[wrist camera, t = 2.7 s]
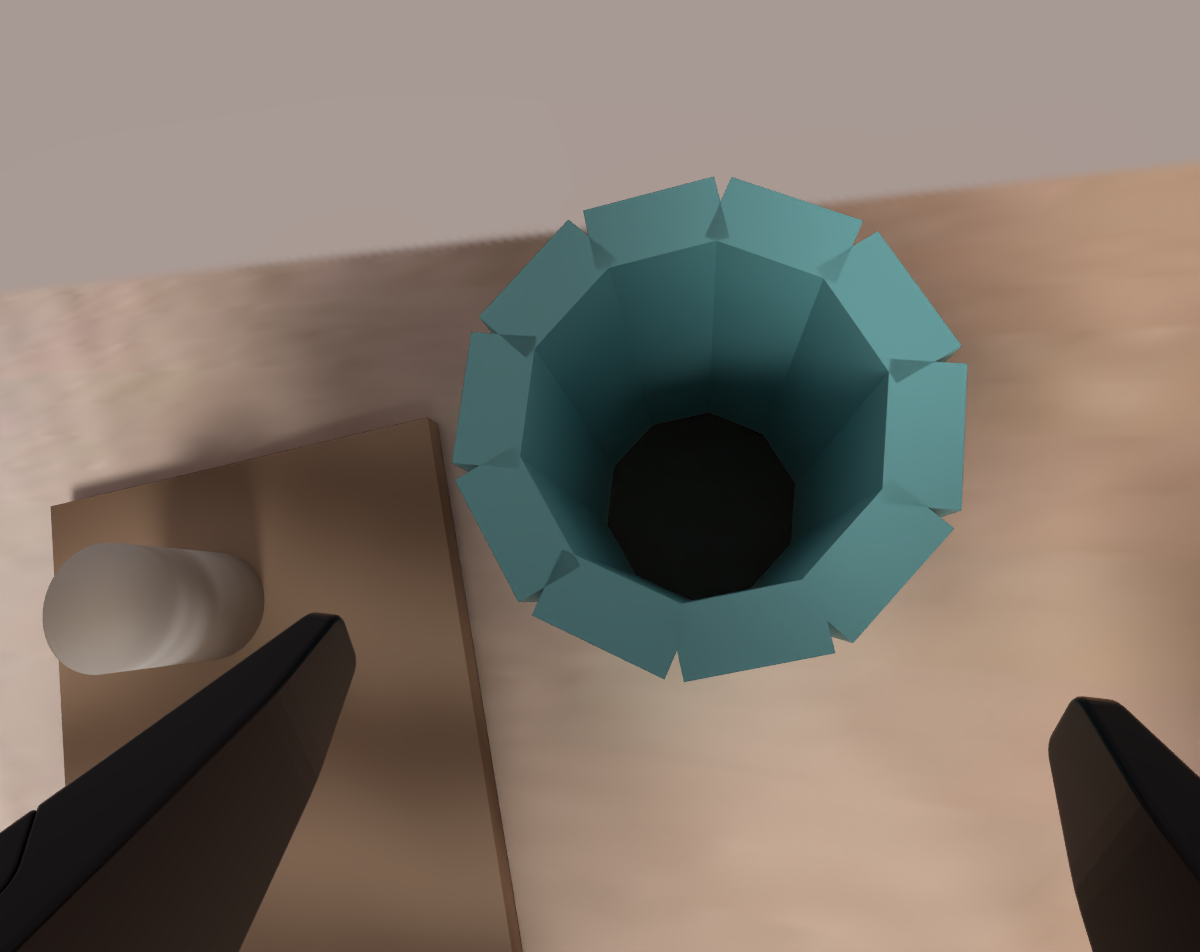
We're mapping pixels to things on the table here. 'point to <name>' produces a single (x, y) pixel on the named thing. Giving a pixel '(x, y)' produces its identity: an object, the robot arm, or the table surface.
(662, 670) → the teal collar
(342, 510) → the peg board
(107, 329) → the table surface
